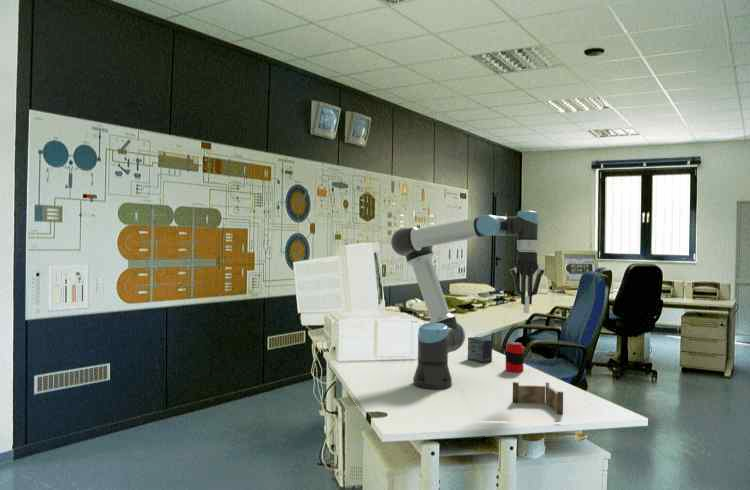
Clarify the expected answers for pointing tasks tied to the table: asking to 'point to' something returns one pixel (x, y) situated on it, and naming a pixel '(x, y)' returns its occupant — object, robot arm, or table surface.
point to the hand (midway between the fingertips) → (526, 312)
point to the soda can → (514, 357)
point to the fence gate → (554, 399)
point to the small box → (479, 349)
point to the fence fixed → (528, 393)
